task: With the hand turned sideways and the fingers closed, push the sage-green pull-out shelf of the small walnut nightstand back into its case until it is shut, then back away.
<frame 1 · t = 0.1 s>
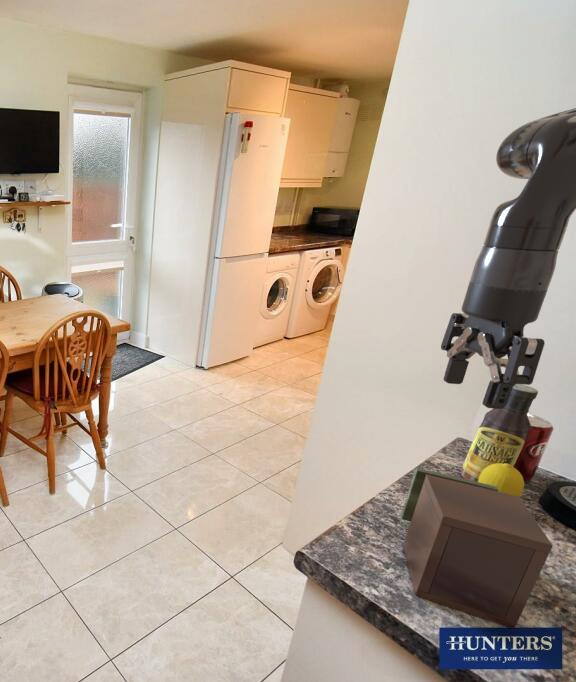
hand: (470, 394, 64), 24 cm above the counter, tool pointing down, fingers open, 8 cm apart
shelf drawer: (452, 518, 65), point 6 cm above the counter, slide at 4.5 cm
nightstand: (452, 583, 61), on the counter
soda can: (505, 474, 87), on the counter
lemon: (492, 504, 78), on the counter
sauce bottle: (481, 483, 84), on the counter
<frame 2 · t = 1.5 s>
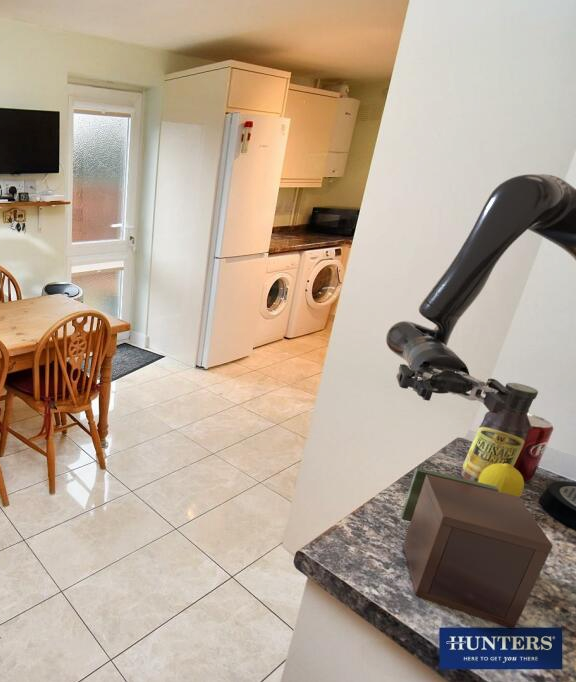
hand: (462, 401, 70), 20 cm above the counter, tool horizontal, fingers open, 8 cm apart
nothing on the counter moved.
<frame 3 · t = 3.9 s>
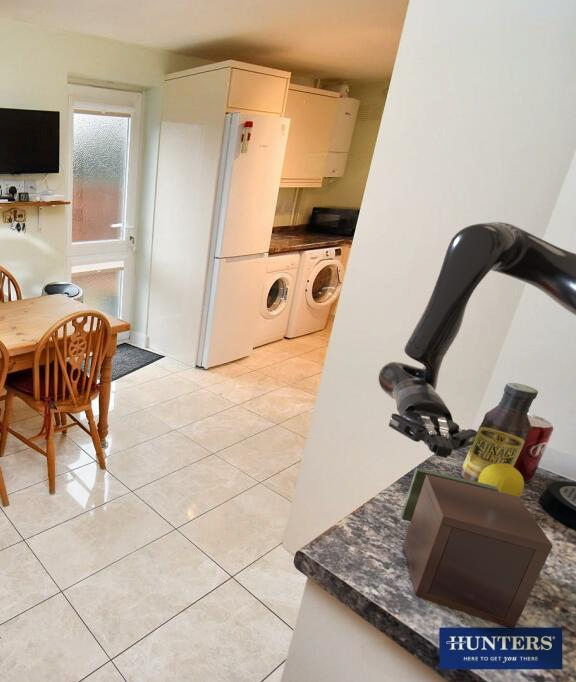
hand: (443, 452, 73), 11 cm above the counter, tool horizontal, fingers closed
nothing on the counter moved.
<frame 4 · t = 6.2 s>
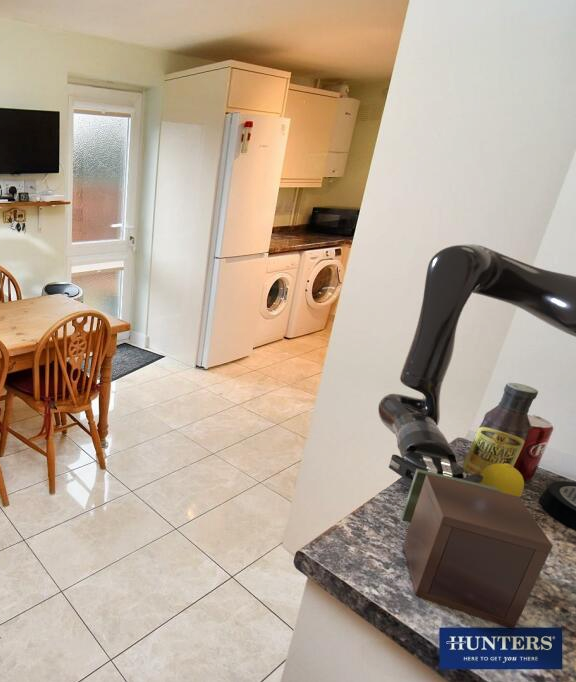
hand: (446, 501, 68), 7 cm above the counter, tool horizontal, fingers closed
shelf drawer: (453, 520, 65), point 6 cm above the counter, slide at 4.2 cm, touching gripper
everything else where it was.
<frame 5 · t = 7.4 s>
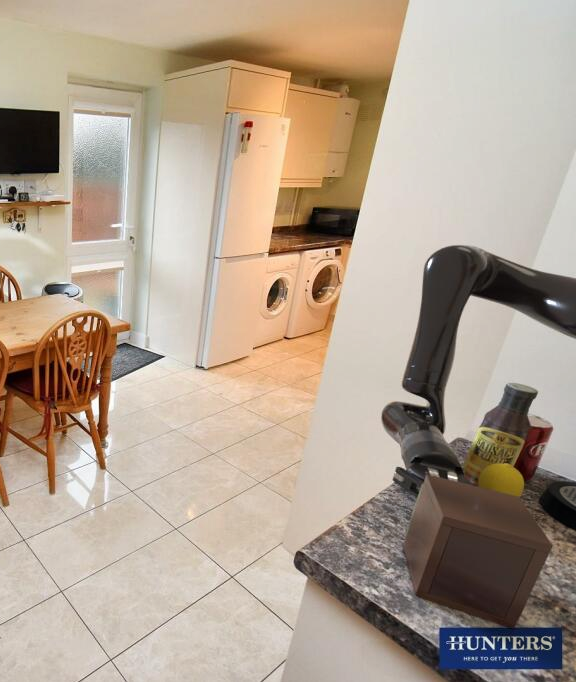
hand: (454, 517, 65), 7 cm above the counter, tool horizontal, fingers closed
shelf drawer: (461, 539, 61), point 6 cm above the counter, slide at -0.1 cm, touching gripper
everything else where it was.
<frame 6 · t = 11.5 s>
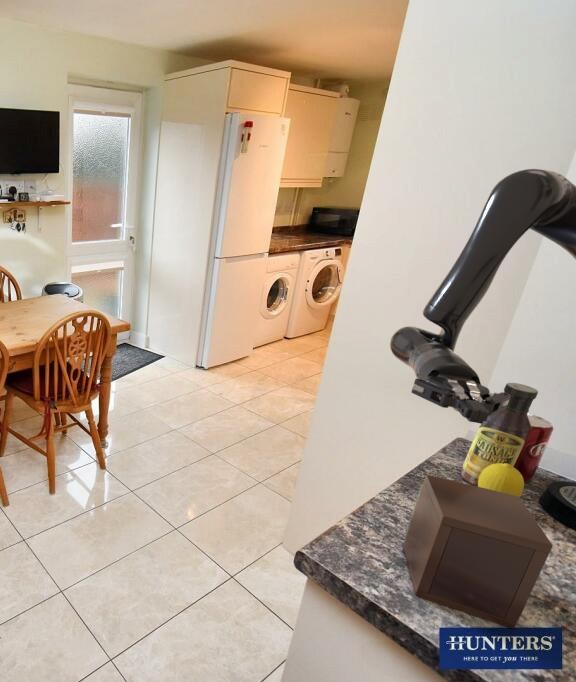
hand: (478, 417, 65), 20 cm above the counter, tool horizontal, fingers closed
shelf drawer: (461, 538, 61), point 6 cm above the counter, slide at 0.0 cm
everything else where it was.
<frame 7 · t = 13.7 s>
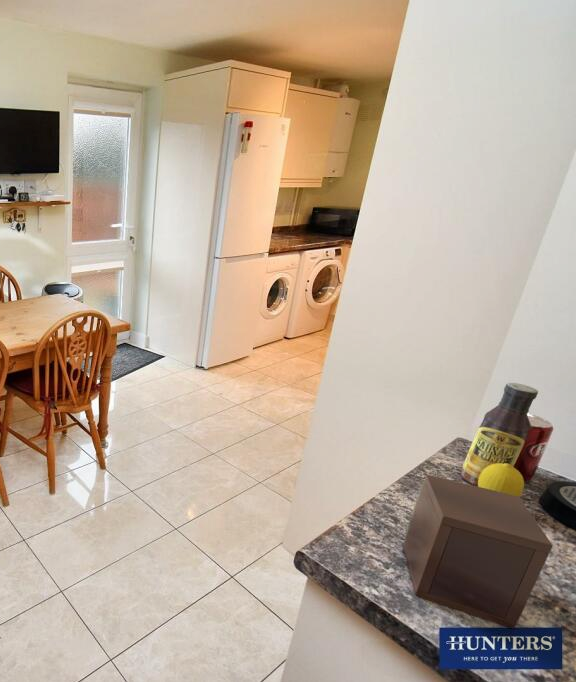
nothing on the counter moved.
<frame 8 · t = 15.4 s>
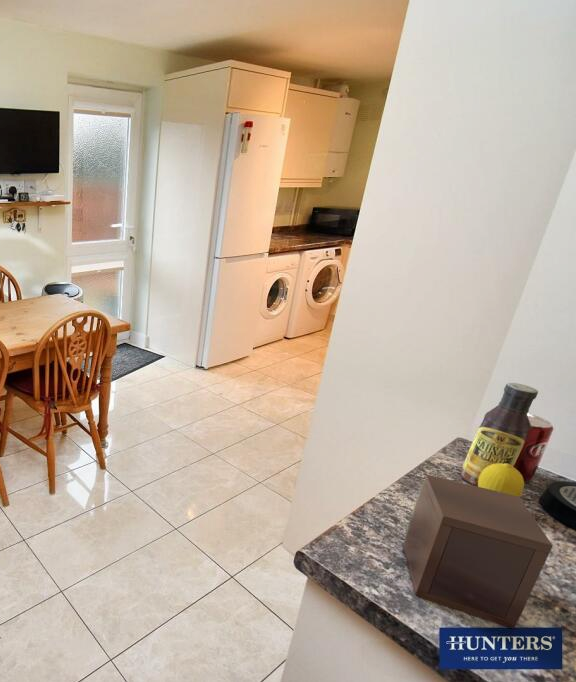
nothing on the counter moved.
at the end: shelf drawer slide at 0.0 cm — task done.
